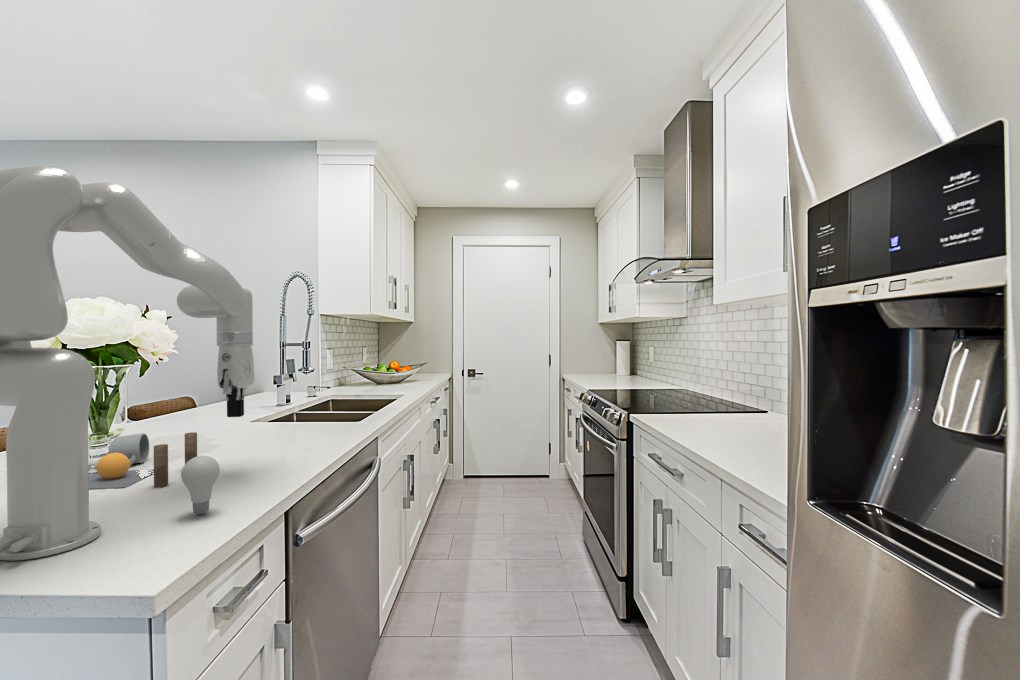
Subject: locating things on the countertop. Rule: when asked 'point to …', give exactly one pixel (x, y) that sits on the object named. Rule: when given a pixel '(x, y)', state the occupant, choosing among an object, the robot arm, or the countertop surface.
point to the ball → (113, 465)
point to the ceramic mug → (131, 447)
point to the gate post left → (160, 465)
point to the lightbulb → (200, 481)
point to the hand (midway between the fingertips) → (235, 416)
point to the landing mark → (115, 480)
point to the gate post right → (190, 446)
